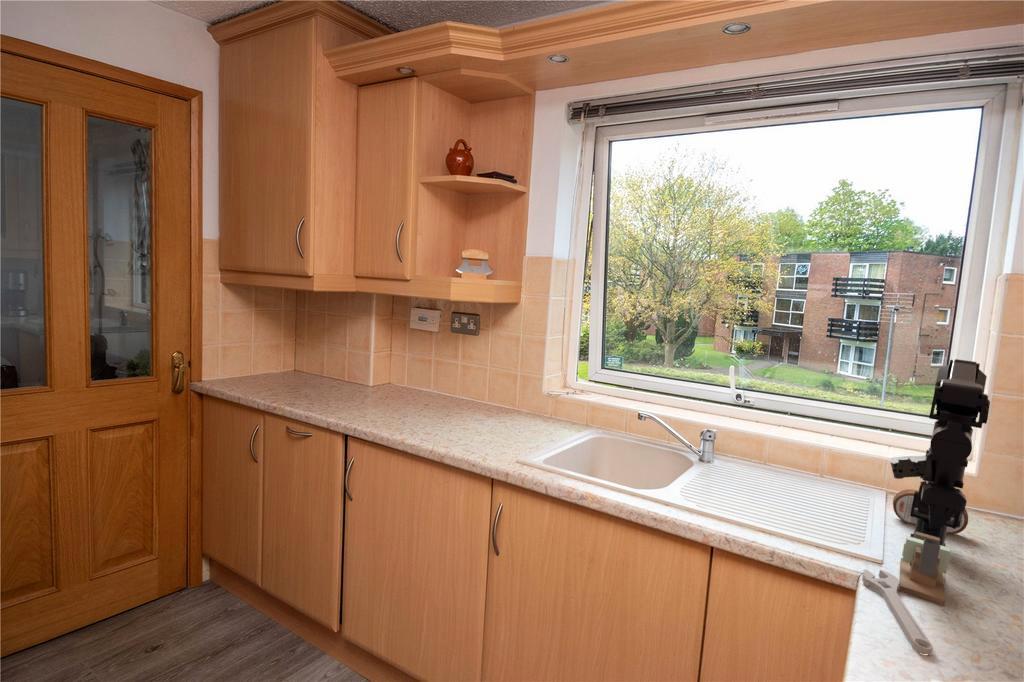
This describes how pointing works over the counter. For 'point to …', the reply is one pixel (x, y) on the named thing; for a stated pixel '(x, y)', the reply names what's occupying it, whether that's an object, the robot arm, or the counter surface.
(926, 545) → the shaft
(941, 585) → the stand
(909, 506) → the tin
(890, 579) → the adjustable wrench
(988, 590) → the counter surface
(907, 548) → the spacer
